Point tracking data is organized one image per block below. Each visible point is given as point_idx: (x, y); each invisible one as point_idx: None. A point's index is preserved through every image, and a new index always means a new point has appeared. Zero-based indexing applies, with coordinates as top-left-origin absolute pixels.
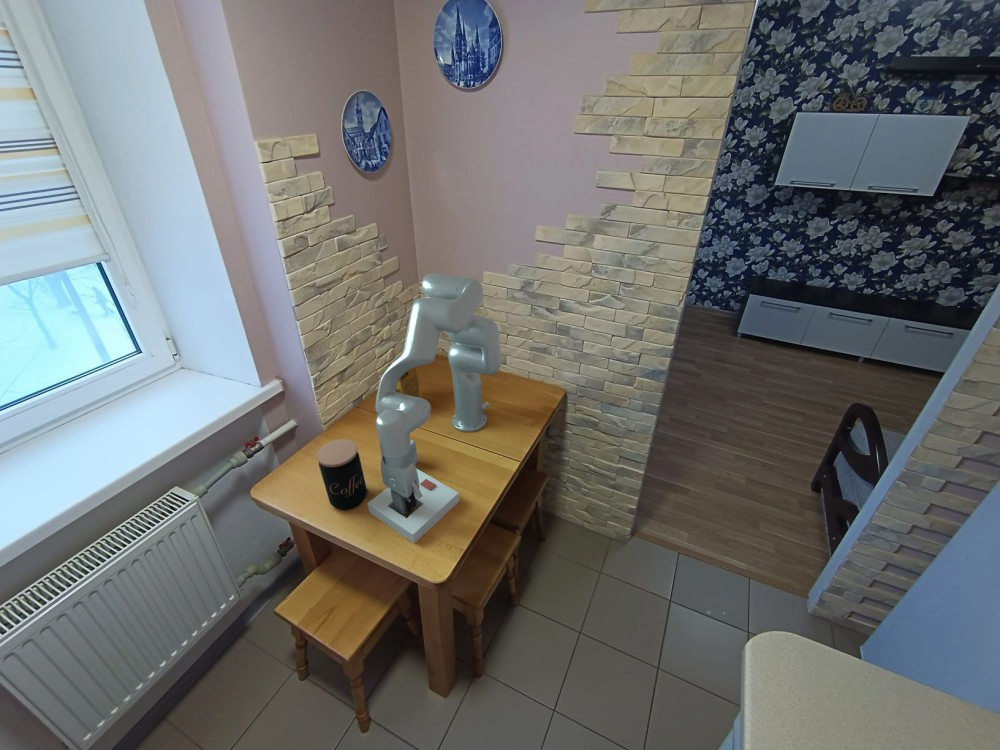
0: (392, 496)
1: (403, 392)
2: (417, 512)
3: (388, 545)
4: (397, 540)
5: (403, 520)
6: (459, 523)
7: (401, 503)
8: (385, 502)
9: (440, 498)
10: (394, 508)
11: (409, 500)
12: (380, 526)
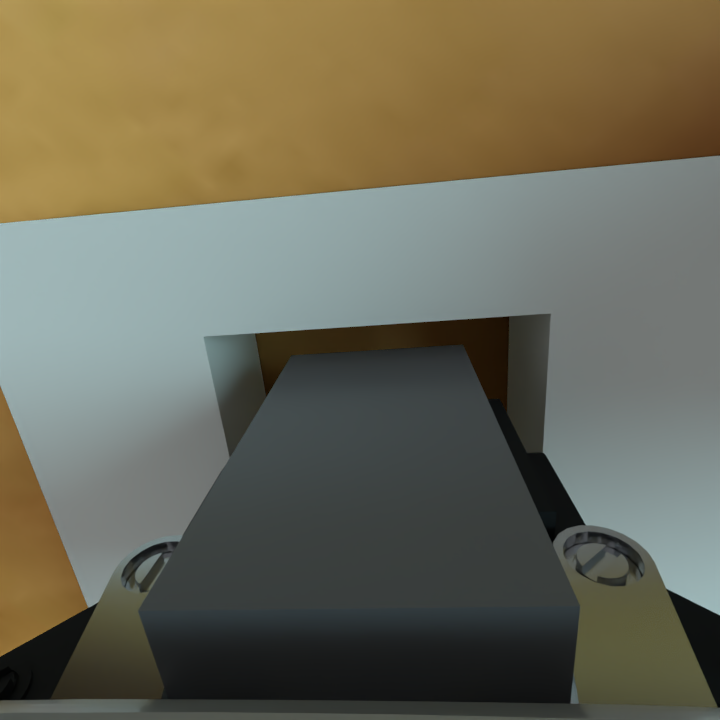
0: (491, 465)
1: None
2: (195, 462)
3: (191, 11)
4: (185, 128)
5: (201, 295)
6: (26, 554)
7: (252, 453)
8: (620, 332)
9: None
10: (456, 346)
11: (110, 587)
12: (466, 117)
